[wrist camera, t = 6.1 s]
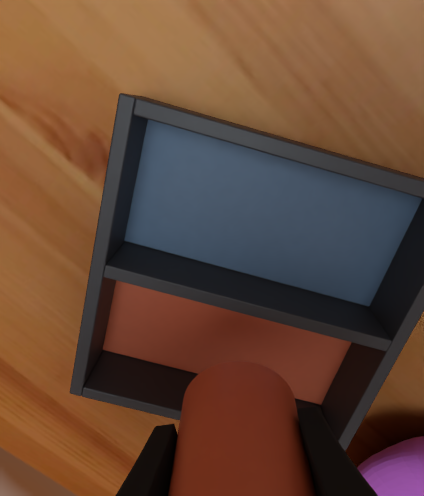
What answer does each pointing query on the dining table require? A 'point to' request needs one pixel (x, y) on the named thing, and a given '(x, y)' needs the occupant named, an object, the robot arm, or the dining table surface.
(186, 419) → the terracotta peg
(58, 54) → the dining table surface
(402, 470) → the blob
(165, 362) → the organizer
